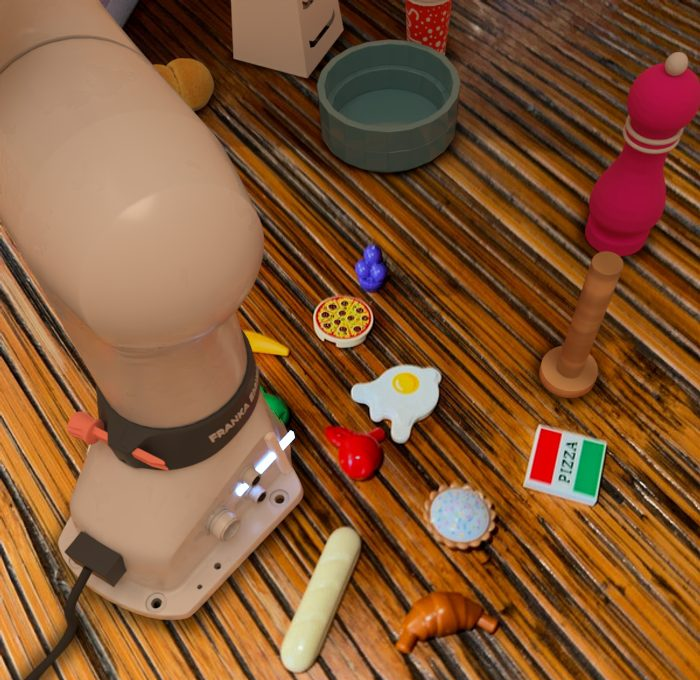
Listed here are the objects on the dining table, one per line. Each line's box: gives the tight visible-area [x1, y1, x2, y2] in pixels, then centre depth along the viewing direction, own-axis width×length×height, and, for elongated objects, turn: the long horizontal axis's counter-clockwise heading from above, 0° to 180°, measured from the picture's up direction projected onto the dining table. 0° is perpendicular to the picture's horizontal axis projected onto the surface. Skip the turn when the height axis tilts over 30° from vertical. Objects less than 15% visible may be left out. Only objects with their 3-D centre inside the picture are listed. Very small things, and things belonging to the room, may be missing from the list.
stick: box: [538, 251, 624, 399], centre depth 65 cm, size 5×5×15 cm
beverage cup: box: [405, 0, 453, 56], centre depth 89 cm, size 6×6×14 cm
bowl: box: [316, 39, 461, 174], centre depth 86 cm, size 16×16×6 cm
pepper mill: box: [584, 51, 700, 258], centre depth 71 cm, size 7×7×20 cm
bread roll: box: [152, 57, 215, 112], centre depth 92 cm, size 8×9×4 cm
